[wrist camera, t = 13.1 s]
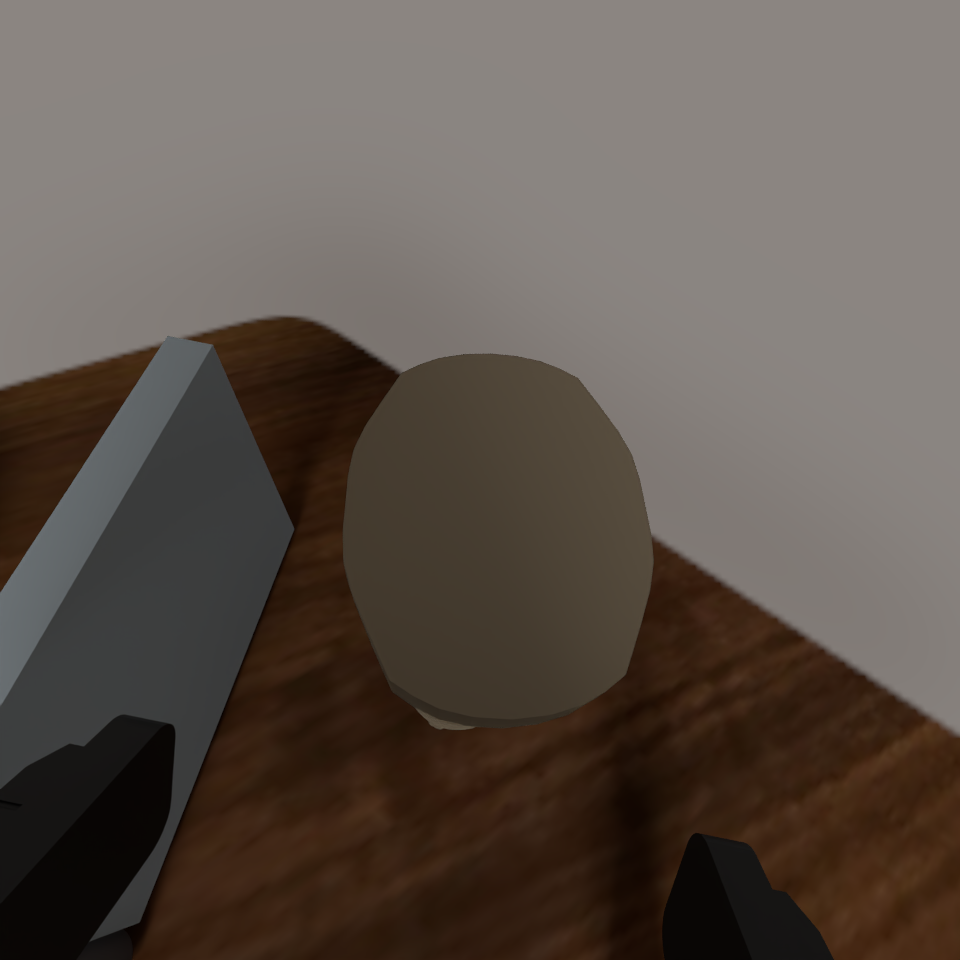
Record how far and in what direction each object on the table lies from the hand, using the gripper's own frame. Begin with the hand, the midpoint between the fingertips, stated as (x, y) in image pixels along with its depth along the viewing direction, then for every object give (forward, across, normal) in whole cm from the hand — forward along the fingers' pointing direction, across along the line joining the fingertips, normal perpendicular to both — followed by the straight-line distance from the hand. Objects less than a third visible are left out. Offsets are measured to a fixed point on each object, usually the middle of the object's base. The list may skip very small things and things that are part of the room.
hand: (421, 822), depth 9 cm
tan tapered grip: (+12, 0, +6) cm, 14 cm away
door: (+10, +8, +8) cm, 15 cm away
